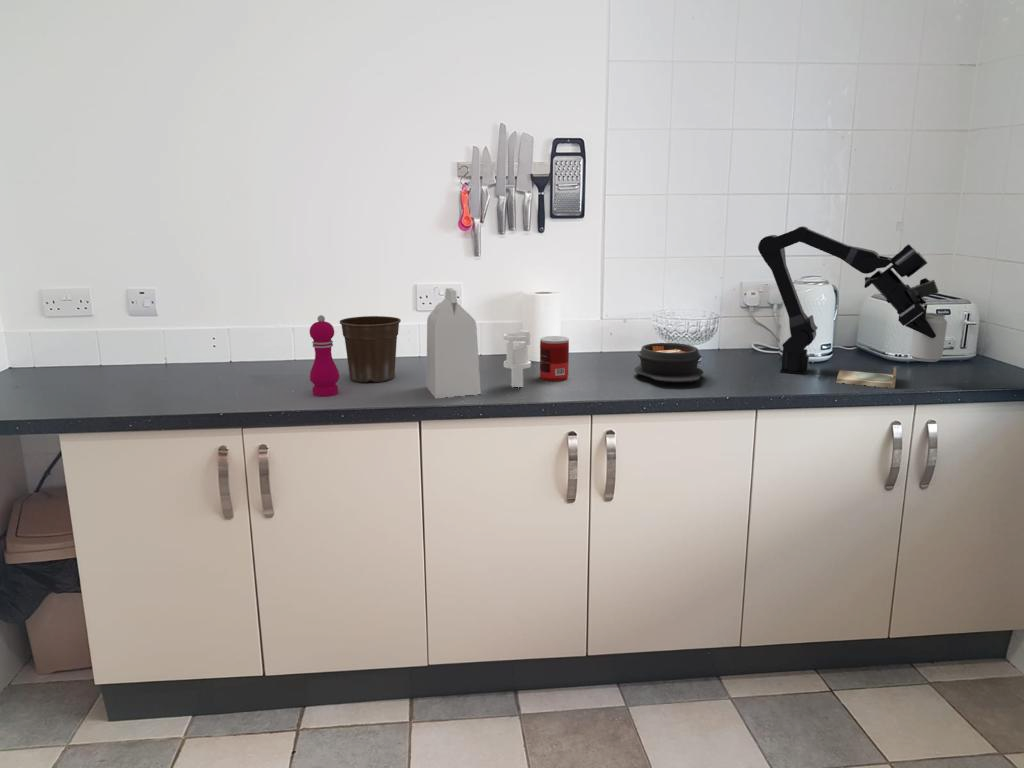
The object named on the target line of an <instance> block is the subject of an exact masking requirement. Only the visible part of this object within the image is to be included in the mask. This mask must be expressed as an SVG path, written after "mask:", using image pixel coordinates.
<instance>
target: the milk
mask: <svg viewBox="0 0 1024 768" xmlns="http://www.w3.org/2000/svg"><path fill="white" fill-rule="evenodd" d="M457 296H458V295H457V290H455V289H453V288H451V287H449V288H447V287H446V288H445V293H444V299H443V300H442V301H441V302H439V303H437V304H436V305H435V306H434V308H433V310H432V311H431V312H430V313H429V315H427V318H426V319H427V320H426V321H427V322H426V388H427V389H428V391H429V393H431V395H432V396H433V397H434V398H435V399H445V397H448V398H455V397H454V396H461V397H466V396H465V395H474V396H478V395H477V394H481V393H482V392H481V376H480V363H479V361H480V360H479V346H478V342H479V341H478V328H477V322H476V319H475V318H474V317H473V316H472V315H471V314H470V313H469V312H468V311H466V310H465V309H464V308H463V306H461V304H459V303H458V298H457Z"/></svg>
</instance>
